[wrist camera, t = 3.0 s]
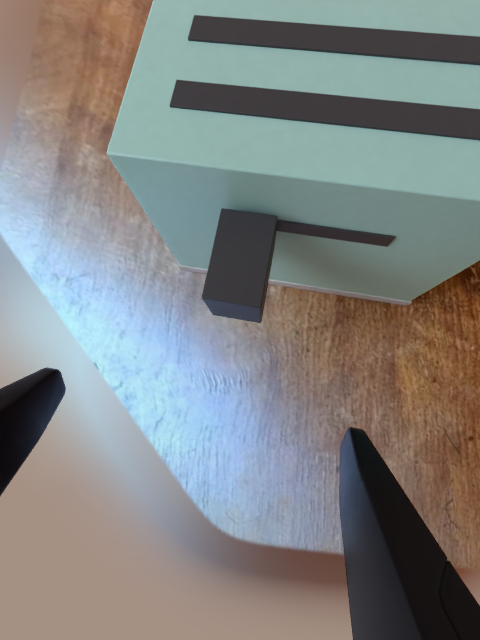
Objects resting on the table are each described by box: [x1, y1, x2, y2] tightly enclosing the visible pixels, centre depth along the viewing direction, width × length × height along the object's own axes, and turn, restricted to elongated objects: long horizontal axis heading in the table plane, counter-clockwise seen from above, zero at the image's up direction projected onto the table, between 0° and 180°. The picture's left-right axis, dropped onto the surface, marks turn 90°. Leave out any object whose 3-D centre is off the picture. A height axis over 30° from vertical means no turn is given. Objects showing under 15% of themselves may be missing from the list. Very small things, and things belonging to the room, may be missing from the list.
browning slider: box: [202, 208, 277, 323], centre depth 14 cm, size 4×2×3 cm, turn 169°
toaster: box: [107, 0, 480, 306], centre depth 18 cm, size 9×16×12 cm, turn 79°
